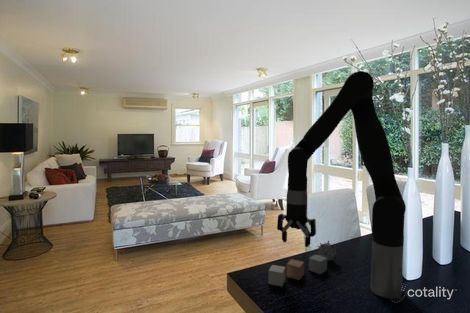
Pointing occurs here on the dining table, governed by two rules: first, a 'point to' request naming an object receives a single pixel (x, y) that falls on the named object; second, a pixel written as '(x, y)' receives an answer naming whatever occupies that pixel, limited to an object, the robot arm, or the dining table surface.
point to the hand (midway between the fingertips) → (295, 244)
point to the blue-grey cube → (317, 264)
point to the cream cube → (277, 275)
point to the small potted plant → (327, 251)
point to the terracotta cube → (295, 269)
